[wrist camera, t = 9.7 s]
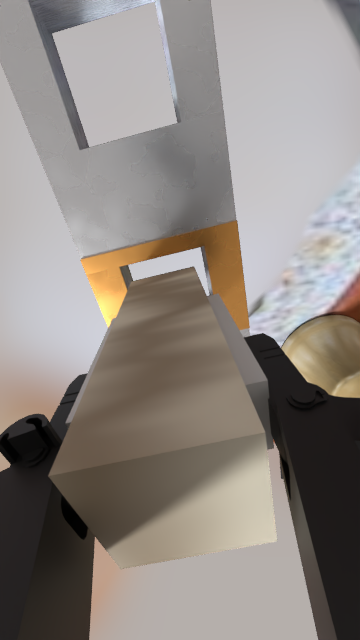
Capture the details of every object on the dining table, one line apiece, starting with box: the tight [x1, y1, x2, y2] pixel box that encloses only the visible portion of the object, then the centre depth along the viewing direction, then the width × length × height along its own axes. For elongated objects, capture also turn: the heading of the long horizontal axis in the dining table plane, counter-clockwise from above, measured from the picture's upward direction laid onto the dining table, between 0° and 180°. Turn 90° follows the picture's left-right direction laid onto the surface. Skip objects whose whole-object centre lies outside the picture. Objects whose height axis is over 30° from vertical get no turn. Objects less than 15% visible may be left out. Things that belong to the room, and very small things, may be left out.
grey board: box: [0, 0, 250, 338], centre depth 15 cm, size 10×22×3 cm, turn 13°
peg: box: [48, 267, 277, 569], centre depth 11 cm, size 4×4×12 cm
